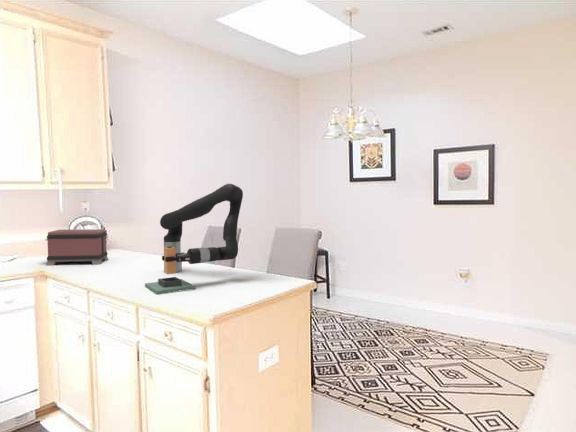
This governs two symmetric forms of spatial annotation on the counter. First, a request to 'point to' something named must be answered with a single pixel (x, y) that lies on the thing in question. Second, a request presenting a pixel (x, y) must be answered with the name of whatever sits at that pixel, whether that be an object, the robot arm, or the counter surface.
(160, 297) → the counter surface
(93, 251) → the reddish brown chest
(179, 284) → the board
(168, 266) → the plug
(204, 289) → the counter surface
